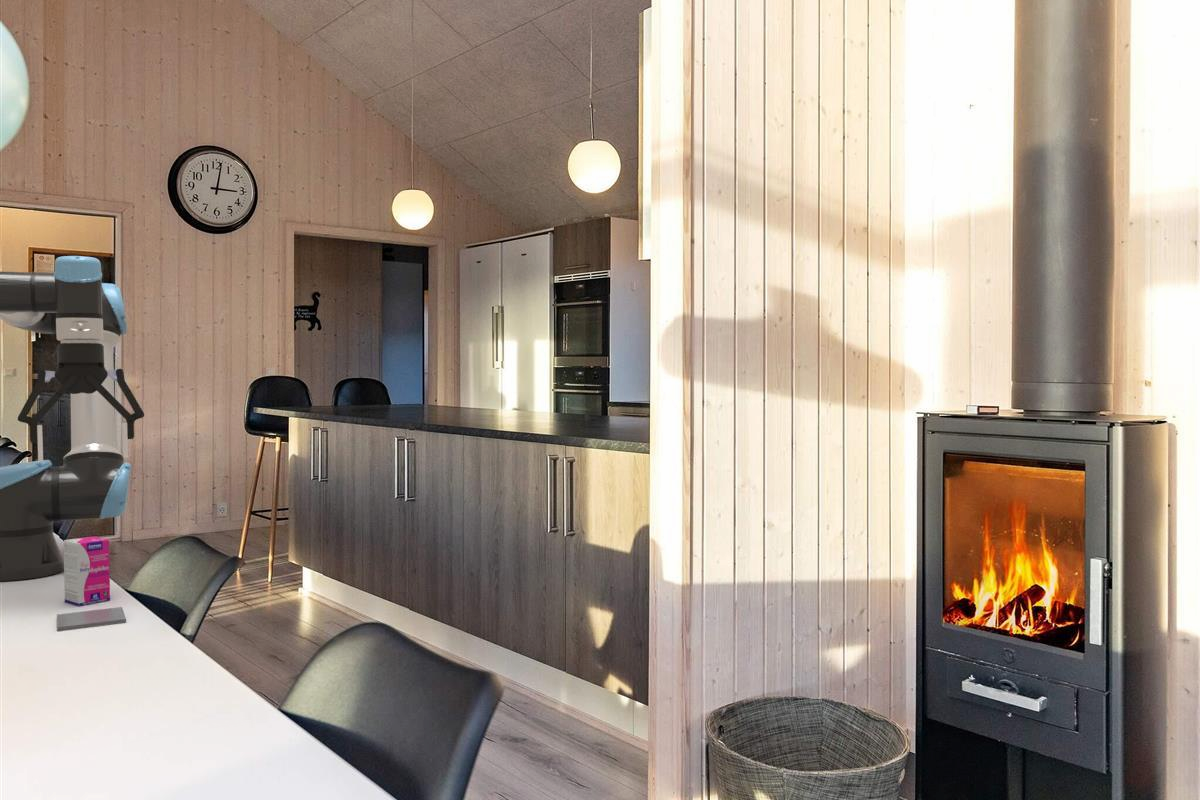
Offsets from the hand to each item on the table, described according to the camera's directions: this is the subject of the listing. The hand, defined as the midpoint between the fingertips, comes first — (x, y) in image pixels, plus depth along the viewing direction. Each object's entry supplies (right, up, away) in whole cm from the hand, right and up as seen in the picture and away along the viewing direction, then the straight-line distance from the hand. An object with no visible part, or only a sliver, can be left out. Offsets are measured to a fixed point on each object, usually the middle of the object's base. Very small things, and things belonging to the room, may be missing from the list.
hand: (83, 459), depth 178 cm
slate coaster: (+8, -26, -13) cm, 30 cm away
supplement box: (0, -26, +1) cm, 26 cm away
